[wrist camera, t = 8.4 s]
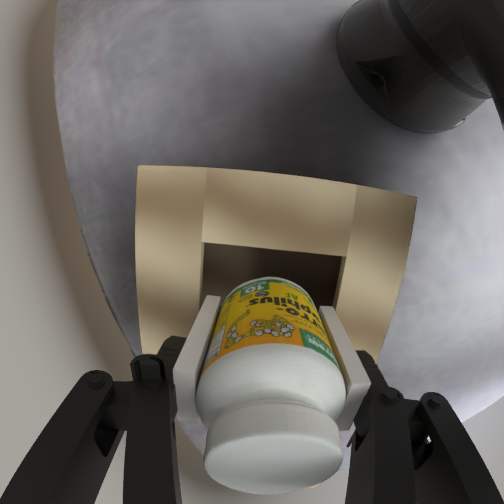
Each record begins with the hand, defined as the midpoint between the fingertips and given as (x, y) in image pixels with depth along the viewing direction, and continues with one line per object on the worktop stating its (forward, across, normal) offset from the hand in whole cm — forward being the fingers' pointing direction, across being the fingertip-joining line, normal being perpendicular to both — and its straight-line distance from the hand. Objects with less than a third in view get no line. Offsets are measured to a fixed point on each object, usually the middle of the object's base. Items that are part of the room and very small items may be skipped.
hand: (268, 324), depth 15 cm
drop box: (+10, 0, 0) cm, 10 cm away
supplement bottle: (0, 0, 0) cm, 1 cm away
